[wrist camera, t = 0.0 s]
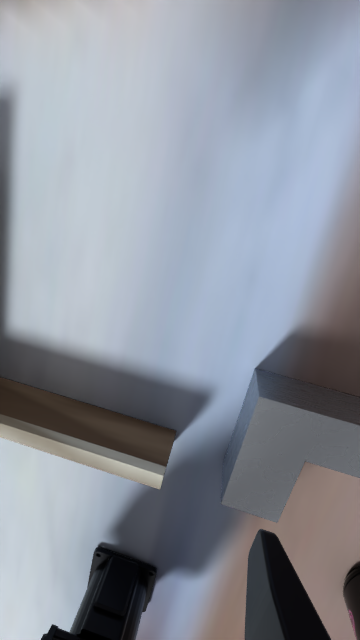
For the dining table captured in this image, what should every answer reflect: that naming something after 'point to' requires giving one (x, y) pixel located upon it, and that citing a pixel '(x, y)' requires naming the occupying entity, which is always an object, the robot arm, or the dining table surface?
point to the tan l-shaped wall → (85, 433)
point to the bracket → (287, 441)
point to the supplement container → (353, 599)
